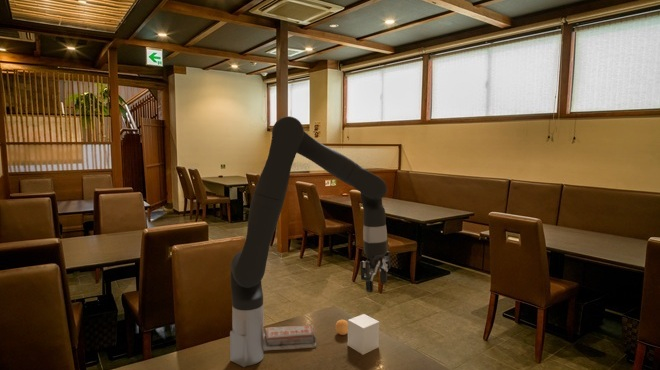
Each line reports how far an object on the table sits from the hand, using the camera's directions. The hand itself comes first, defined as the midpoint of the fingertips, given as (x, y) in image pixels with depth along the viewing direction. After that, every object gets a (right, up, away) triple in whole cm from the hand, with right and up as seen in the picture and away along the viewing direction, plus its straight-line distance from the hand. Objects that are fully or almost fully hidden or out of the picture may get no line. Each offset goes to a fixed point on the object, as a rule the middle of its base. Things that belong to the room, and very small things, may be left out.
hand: (376, 287), depth 127 cm
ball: (-11, -16, +9) cm, 22 cm away
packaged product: (-29, -20, +4) cm, 36 cm away
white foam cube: (-4, -20, +2) cm, 20 cm away
